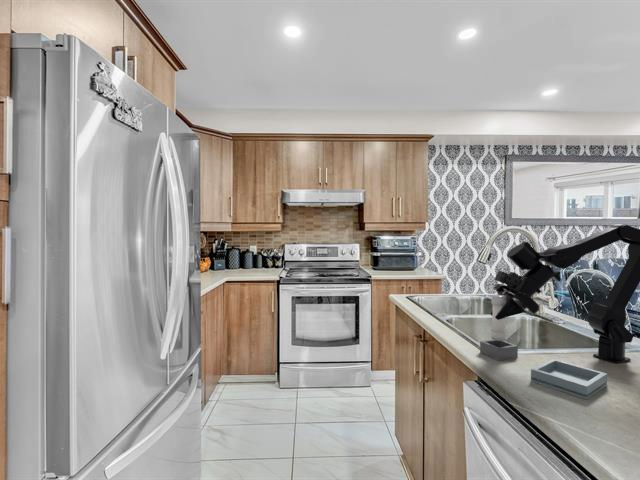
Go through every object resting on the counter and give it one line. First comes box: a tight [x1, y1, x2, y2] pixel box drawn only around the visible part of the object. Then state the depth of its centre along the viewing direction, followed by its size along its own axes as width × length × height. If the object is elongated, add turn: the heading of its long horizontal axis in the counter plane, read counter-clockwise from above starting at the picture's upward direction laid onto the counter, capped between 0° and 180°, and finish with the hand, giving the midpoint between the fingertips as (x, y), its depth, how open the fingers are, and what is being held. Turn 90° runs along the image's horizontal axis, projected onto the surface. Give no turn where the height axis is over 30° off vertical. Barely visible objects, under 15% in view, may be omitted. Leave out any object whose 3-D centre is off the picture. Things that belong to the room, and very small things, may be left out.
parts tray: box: [530, 358, 608, 400], centre depth 89 cm, size 12×12×3 cm
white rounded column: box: [490, 294, 507, 341], centre depth 108 cm, size 4×4×13 cm
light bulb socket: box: [479, 339, 519, 361], centre depth 109 cm, size 7×7×4 cm
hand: (493, 317), depth 108 cm, fingers closed on white rounded column, 3 cm apart
